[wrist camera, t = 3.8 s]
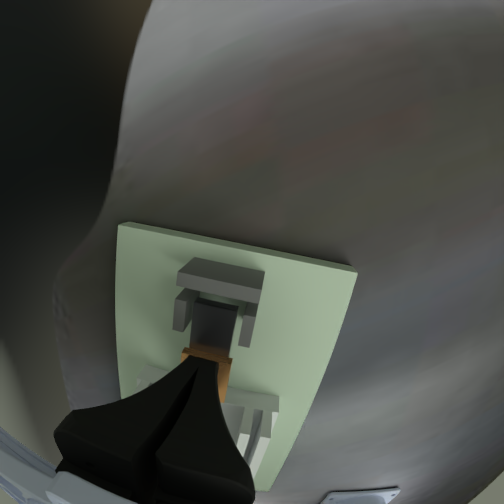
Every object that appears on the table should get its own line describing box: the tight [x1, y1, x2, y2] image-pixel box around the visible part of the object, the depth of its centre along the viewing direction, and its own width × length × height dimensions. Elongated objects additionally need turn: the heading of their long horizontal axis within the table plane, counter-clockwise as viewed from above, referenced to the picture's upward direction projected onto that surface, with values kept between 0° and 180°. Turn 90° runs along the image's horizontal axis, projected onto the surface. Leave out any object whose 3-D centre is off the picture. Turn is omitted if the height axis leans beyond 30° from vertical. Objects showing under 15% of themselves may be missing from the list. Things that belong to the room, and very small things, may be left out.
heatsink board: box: [115, 222, 358, 492], centre depth 15 cm, size 20×12×5 cm, turn 170°
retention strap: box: [181, 297, 239, 403], centre depth 14 cm, size 16×2×1 cm, turn 170°
